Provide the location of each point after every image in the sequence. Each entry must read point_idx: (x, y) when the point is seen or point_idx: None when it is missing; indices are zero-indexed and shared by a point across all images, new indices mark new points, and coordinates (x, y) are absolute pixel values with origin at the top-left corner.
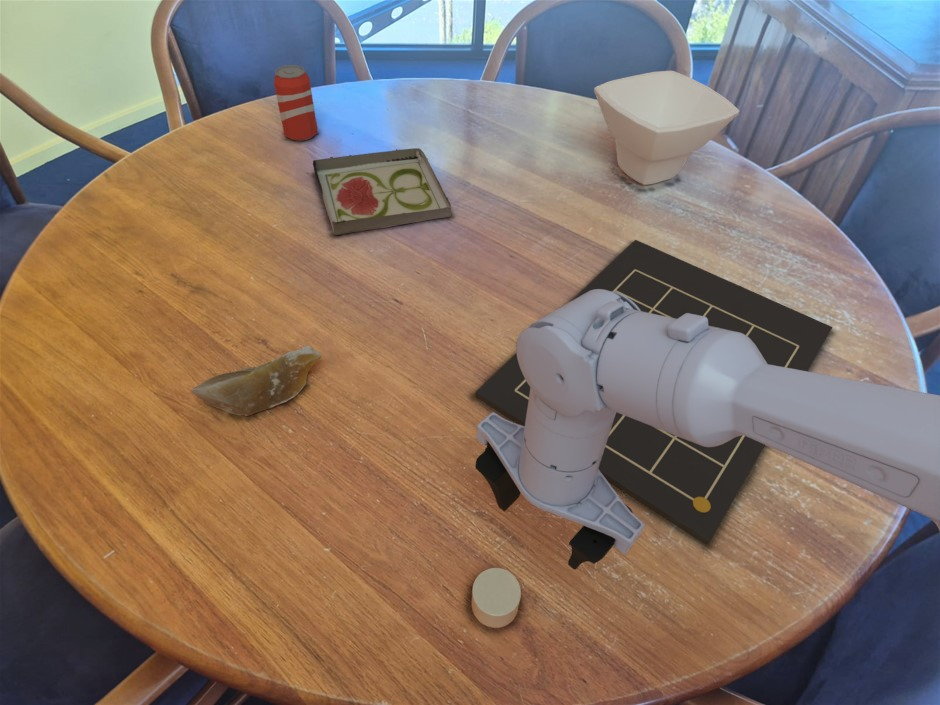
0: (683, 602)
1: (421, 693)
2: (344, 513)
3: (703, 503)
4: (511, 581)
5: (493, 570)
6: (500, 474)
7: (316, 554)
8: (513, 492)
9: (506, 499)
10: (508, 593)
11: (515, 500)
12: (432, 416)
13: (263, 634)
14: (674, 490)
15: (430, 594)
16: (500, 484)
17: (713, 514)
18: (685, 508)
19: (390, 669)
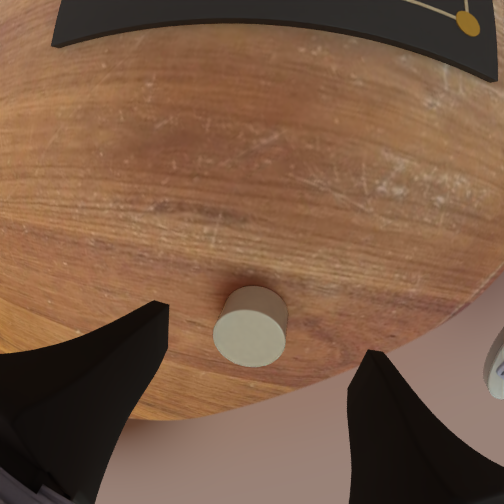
0: (486, 185)
1: (239, 405)
2: (58, 293)
3: (469, 21)
4: (260, 320)
5: (227, 319)
6: (82, 497)
7: None
8: (145, 356)
9: (146, 376)
10: (265, 337)
11: (168, 316)
12: (35, 118)
13: None
14: (425, 9)
15: (182, 334)
16: (103, 464)
17: (485, 35)
18: (453, 35)
19: (202, 399)
